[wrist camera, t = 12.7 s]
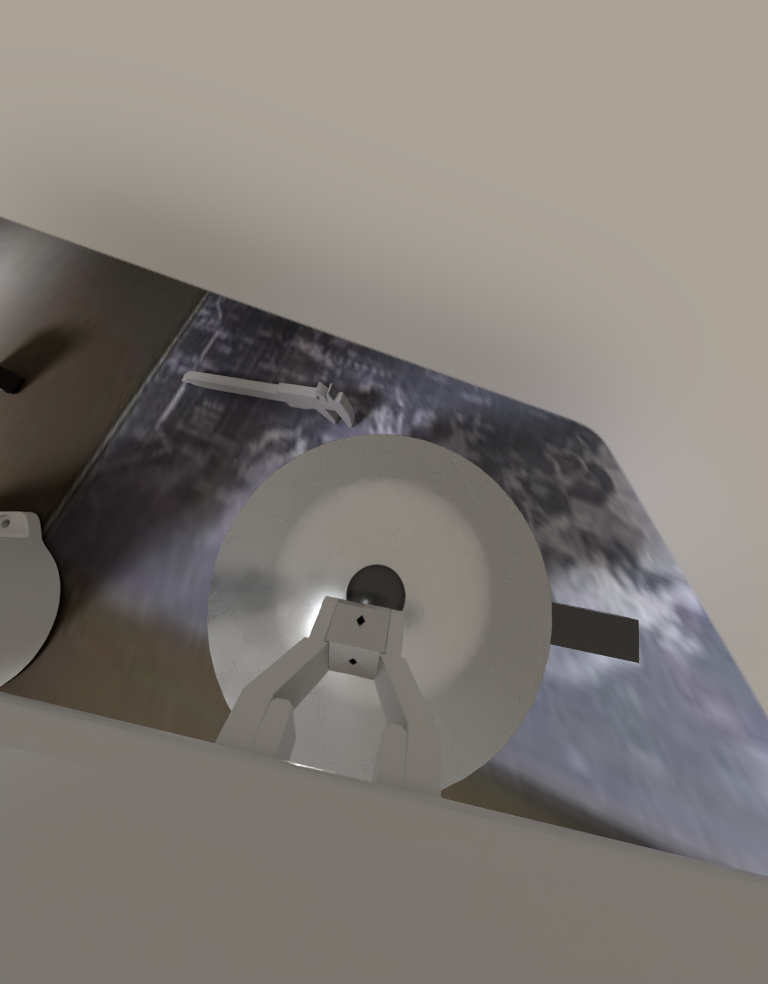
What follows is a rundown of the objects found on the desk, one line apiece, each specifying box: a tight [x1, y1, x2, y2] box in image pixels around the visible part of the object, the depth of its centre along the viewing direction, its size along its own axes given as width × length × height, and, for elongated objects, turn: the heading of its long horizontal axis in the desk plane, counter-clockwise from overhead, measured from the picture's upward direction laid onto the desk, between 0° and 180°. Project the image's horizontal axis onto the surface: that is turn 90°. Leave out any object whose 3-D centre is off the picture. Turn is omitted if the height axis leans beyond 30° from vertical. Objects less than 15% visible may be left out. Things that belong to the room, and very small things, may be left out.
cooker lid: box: [208, 434, 552, 790], centre depth 15 cm, size 19×19×2 cm
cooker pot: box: [550, 602, 639, 663], centre depth 21 cm, size 18×25×10 cm
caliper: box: [182, 371, 355, 428], centre depth 28 cm, size 20×1×6 cm, turn 73°
